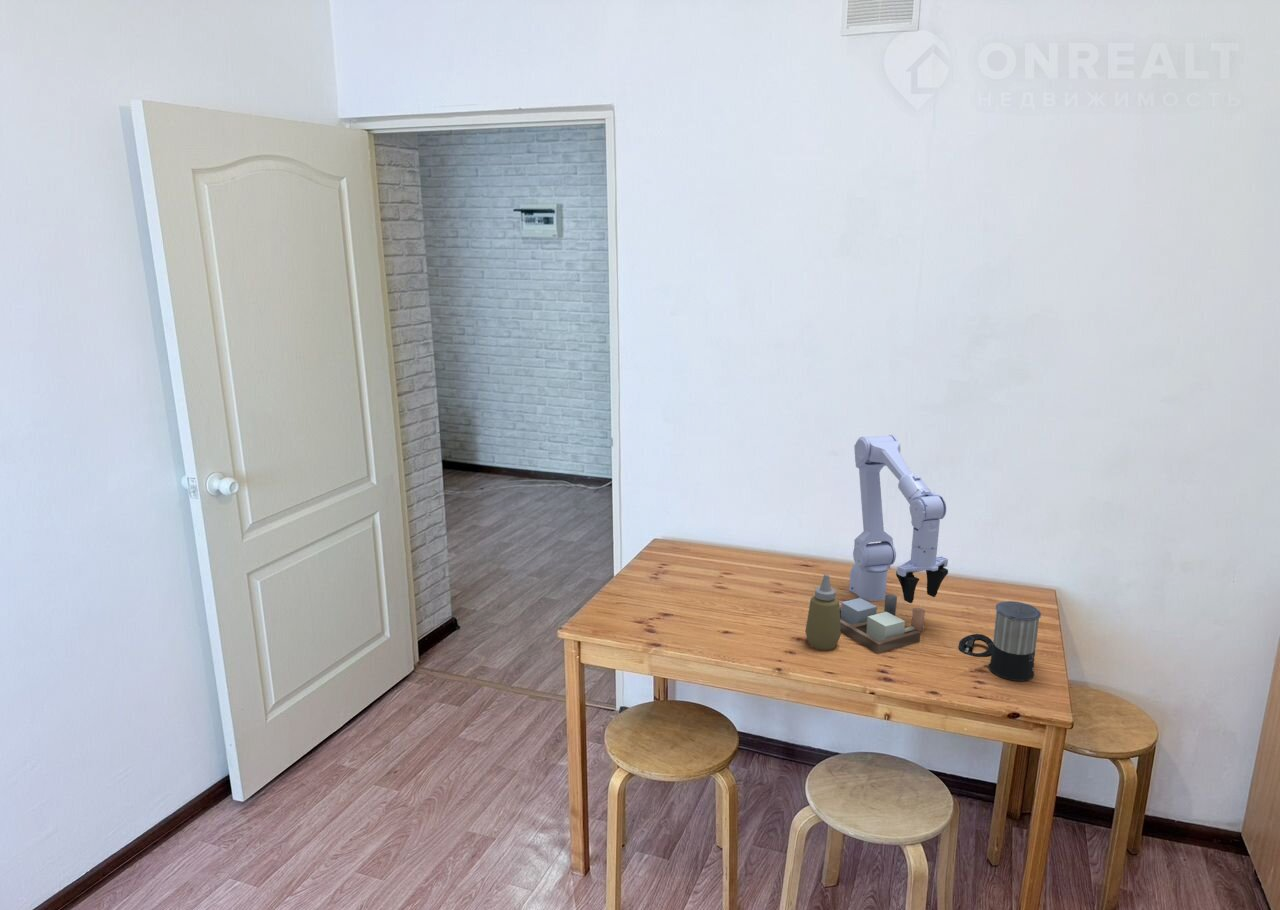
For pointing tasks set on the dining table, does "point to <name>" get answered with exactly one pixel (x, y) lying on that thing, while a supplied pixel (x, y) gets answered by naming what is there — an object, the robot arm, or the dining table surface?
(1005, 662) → the milk frother
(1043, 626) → the dining table surface
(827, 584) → the squeeze bottle
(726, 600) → the dining table surface
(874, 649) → the shelf
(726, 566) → the dining table surface
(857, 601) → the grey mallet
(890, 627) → the sage cube mallet
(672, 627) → the dining table surface
